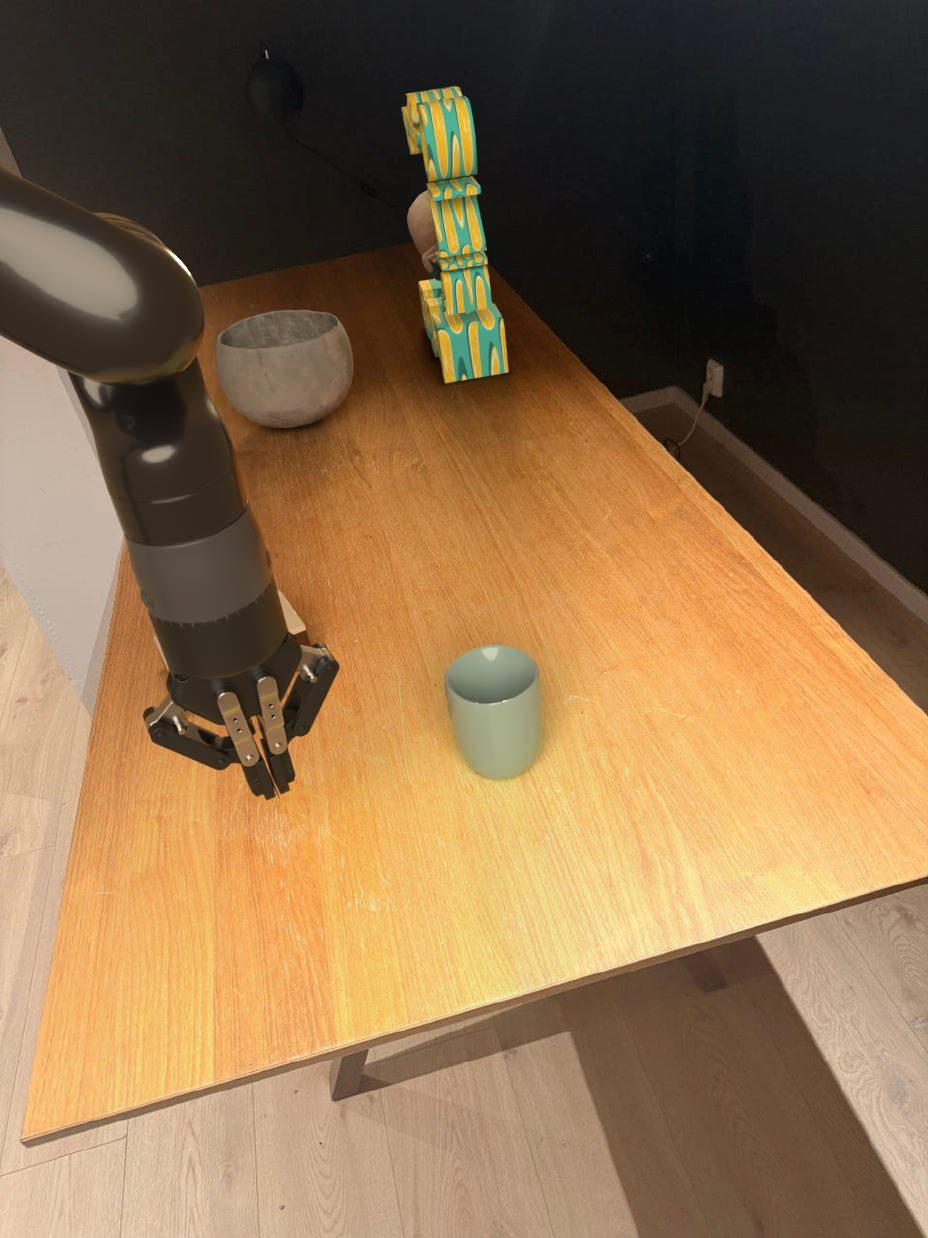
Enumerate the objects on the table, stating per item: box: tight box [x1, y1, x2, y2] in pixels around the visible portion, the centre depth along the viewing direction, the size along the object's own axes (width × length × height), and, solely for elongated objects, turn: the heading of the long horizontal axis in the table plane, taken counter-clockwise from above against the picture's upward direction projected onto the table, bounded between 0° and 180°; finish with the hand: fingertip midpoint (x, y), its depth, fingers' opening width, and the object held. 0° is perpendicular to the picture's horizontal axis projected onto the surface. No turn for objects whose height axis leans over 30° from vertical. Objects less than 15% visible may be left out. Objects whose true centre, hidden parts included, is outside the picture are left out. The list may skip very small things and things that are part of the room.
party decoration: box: [401, 85, 509, 384], centre depth 155 cm, size 31×12×40 cm, turn 9°
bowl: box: [214, 309, 354, 429], centre depth 145 cm, size 20×20×15 cm
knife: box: [246, 717, 281, 800], centre depth 70 cm, size 16×1×2 cm, turn 26°
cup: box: [443, 644, 545, 781], centre depth 81 cm, size 8×8×10 cm
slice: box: [277, 589, 312, 647], centre depth 100 cm, size 4×8×4 cm, turn 28°
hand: (273, 788), depth 66 cm, fingers closed
